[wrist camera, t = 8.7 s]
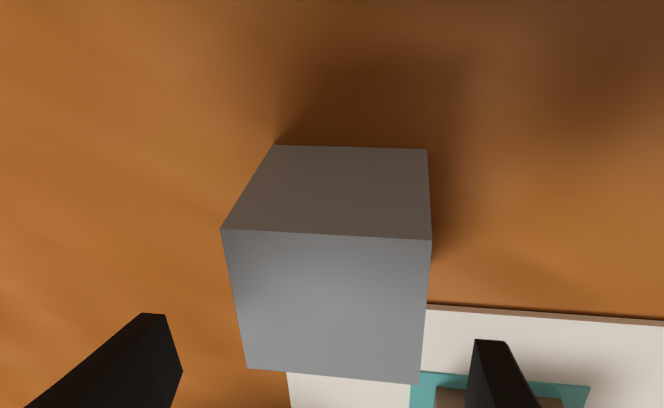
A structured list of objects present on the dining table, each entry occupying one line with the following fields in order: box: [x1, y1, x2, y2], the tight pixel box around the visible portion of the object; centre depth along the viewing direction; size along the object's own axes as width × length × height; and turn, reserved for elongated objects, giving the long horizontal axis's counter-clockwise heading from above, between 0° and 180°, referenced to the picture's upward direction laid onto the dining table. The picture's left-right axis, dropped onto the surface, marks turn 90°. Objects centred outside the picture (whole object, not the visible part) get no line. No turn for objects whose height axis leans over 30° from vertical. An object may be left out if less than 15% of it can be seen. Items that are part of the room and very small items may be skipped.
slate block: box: [220, 145, 432, 386], centre depth 14 cm, size 5×5×5 cm
